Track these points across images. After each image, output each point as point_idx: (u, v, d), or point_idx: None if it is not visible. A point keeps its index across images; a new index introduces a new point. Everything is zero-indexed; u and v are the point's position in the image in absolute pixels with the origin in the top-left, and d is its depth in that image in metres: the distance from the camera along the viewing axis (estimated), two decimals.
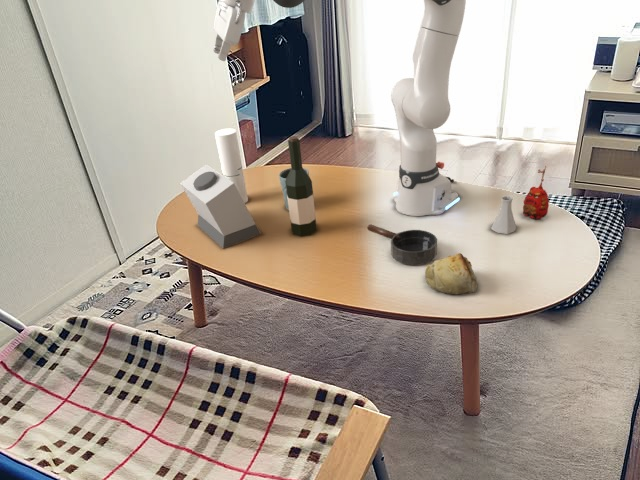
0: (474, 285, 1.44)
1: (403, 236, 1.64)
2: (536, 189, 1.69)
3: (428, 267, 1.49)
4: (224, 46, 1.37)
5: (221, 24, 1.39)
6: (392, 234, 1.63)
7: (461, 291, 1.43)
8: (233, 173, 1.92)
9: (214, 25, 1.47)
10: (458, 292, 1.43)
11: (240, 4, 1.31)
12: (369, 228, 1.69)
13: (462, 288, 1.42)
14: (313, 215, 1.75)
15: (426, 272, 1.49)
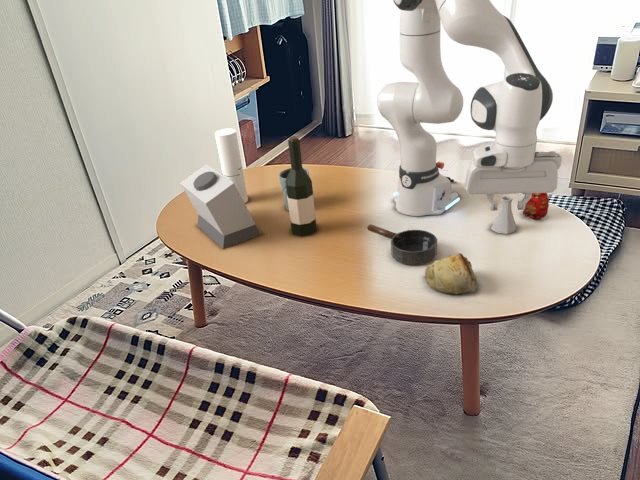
0: (474, 285, 1.44)
1: (403, 236, 1.64)
2: None
3: (428, 267, 1.49)
4: None
5: (517, 183, 1.28)
6: (392, 234, 1.63)
7: (461, 291, 1.43)
8: (233, 173, 1.92)
9: (473, 191, 1.30)
10: (458, 292, 1.43)
11: (555, 153, 1.24)
12: (369, 228, 1.69)
13: (462, 288, 1.42)
14: (313, 215, 1.75)
15: (426, 272, 1.49)
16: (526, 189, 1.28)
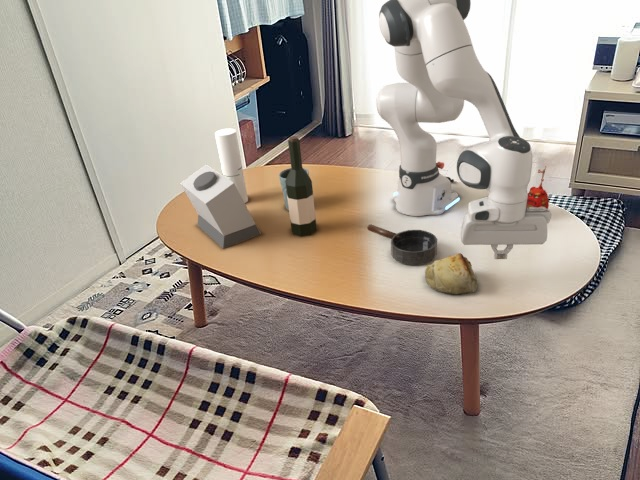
0: (474, 285, 1.44)
1: (403, 236, 1.64)
2: (536, 189, 1.69)
3: (428, 267, 1.49)
4: None
5: (509, 235, 1.36)
6: (392, 234, 1.63)
7: (461, 291, 1.43)
8: (233, 173, 1.92)
9: (468, 241, 1.38)
10: (458, 292, 1.43)
11: (545, 208, 1.32)
12: (369, 228, 1.69)
13: (462, 288, 1.42)
14: (313, 215, 1.75)
15: (426, 272, 1.49)
16: (518, 241, 1.36)
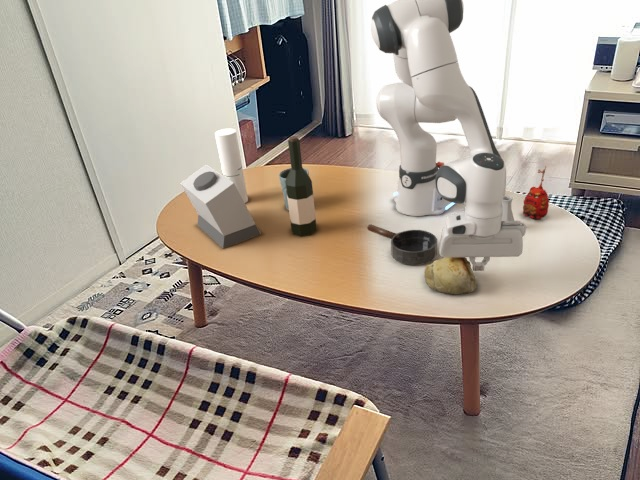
0: (473, 285, 1.44)
1: (403, 236, 1.64)
2: (536, 189, 1.69)
3: (427, 267, 1.49)
4: None
5: (486, 248, 1.39)
6: (392, 234, 1.63)
7: (460, 291, 1.43)
8: (233, 173, 1.92)
9: (446, 254, 1.41)
10: (457, 292, 1.43)
11: (520, 222, 1.35)
12: (369, 228, 1.69)
13: (462, 288, 1.42)
14: (313, 215, 1.75)
15: (425, 272, 1.49)
16: (494, 253, 1.40)
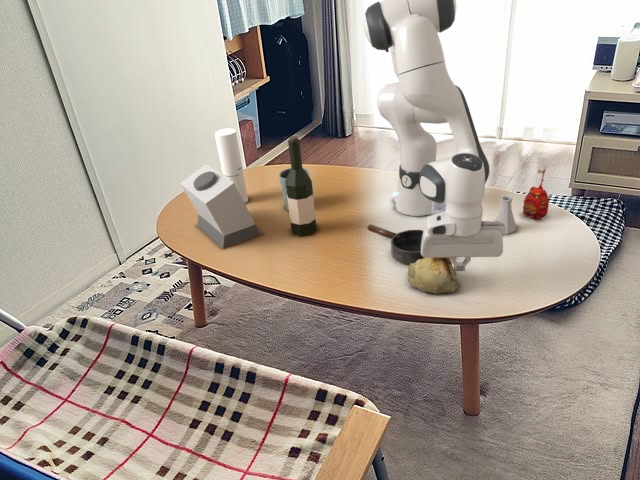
0: (454, 285, 1.44)
1: (403, 236, 1.64)
2: (536, 189, 1.69)
3: (411, 266, 1.50)
4: None
5: (467, 248, 1.40)
6: (392, 234, 1.63)
7: (441, 291, 1.44)
8: (233, 173, 1.92)
9: (427, 254, 1.42)
10: (437, 292, 1.44)
11: (500, 222, 1.36)
12: (369, 228, 1.69)
13: (441, 287, 1.43)
14: (313, 215, 1.75)
15: (408, 270, 1.50)
16: (475, 253, 1.40)
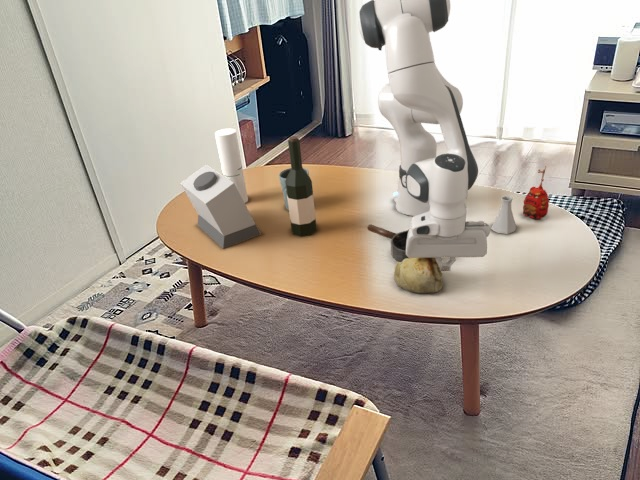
0: (438, 285, 1.45)
1: (403, 236, 1.64)
2: (536, 189, 1.69)
3: (397, 264, 1.51)
4: None
5: (451, 248, 1.40)
6: (392, 234, 1.63)
7: (424, 290, 1.45)
8: (233, 173, 1.92)
9: (412, 254, 1.43)
10: (421, 291, 1.45)
11: (484, 223, 1.37)
12: (369, 228, 1.69)
13: (425, 287, 1.44)
14: (313, 215, 1.75)
15: (395, 269, 1.51)
16: (459, 254, 1.41)
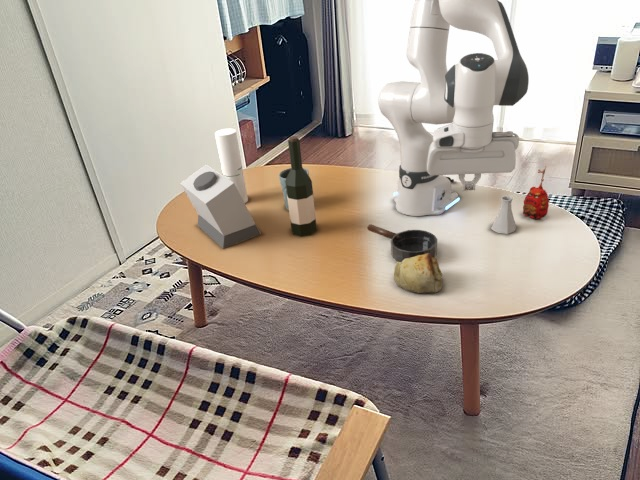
0: (438, 285, 1.45)
1: (403, 236, 1.64)
2: (536, 189, 1.69)
3: (397, 264, 1.51)
4: None
5: (476, 163, 1.30)
6: (392, 234, 1.63)
7: (424, 290, 1.45)
8: (233, 173, 1.92)
9: (434, 171, 1.32)
10: (421, 291, 1.45)
11: (512, 133, 1.26)
12: (369, 228, 1.69)
13: (425, 287, 1.44)
14: (313, 215, 1.75)
15: (395, 269, 1.51)
16: (485, 169, 1.30)
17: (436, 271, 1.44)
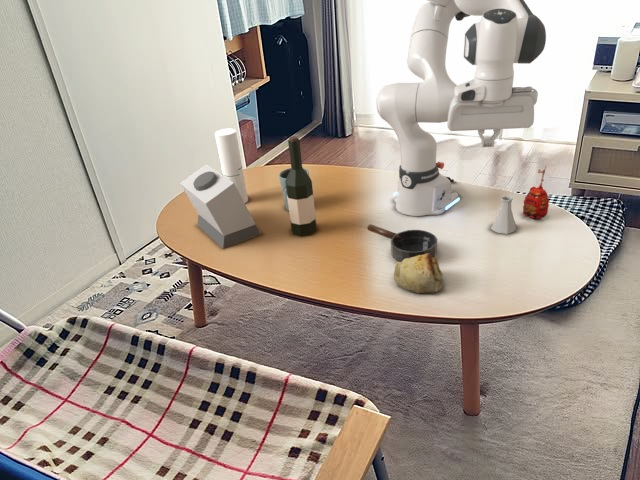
0: (438, 285, 1.45)
1: (403, 236, 1.64)
2: (536, 189, 1.69)
3: (397, 264, 1.51)
4: None
5: (496, 118, 1.34)
6: (392, 234, 1.63)
7: (424, 290, 1.45)
8: (233, 173, 1.92)
9: (455, 127, 1.37)
10: (421, 291, 1.45)
11: (531, 88, 1.31)
12: (369, 228, 1.69)
13: (425, 287, 1.44)
14: (313, 215, 1.75)
15: (395, 269, 1.51)
16: (504, 124, 1.35)
17: (436, 271, 1.44)
